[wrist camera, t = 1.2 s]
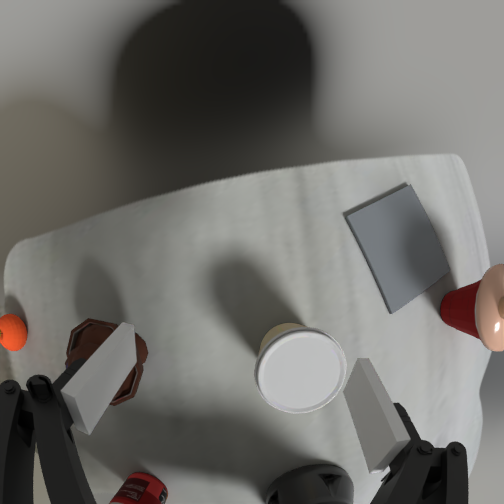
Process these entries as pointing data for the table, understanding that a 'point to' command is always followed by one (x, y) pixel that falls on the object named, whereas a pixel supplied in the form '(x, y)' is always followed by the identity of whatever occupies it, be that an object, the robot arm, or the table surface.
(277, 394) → the coffee cup
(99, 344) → the ice cream bowl
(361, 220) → the mat
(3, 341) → the clementine
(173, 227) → the table surface
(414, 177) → the table surface
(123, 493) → the canned food
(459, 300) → the plastic cup
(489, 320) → the lid
